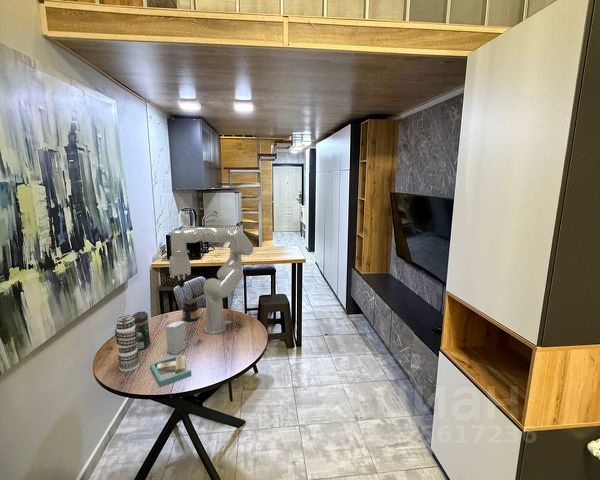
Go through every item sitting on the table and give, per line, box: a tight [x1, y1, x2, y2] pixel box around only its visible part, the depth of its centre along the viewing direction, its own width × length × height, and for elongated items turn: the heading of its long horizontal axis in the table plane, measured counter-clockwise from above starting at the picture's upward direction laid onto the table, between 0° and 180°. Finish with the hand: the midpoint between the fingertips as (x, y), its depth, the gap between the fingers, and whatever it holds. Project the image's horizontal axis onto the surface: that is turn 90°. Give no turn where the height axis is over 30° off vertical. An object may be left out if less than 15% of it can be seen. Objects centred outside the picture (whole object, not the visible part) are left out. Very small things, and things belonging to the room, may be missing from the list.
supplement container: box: [181, 298, 201, 322], centre depth 208 cm, size 10×10×12 cm
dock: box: [149, 354, 192, 387], centre depth 149 cm, size 14×17×2 cm
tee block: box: [157, 354, 186, 375], centre depth 151 cm, size 12×12×3 cm
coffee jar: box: [131, 311, 151, 351], centre depth 172 cm, size 10×8×19 cm
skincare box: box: [165, 320, 187, 355], centre depth 168 cm, size 8×6×15 cm
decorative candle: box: [114, 314, 140, 372], centre depth 152 cm, size 9×9×25 cm
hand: (181, 286), depth 172 cm, fingers closed
